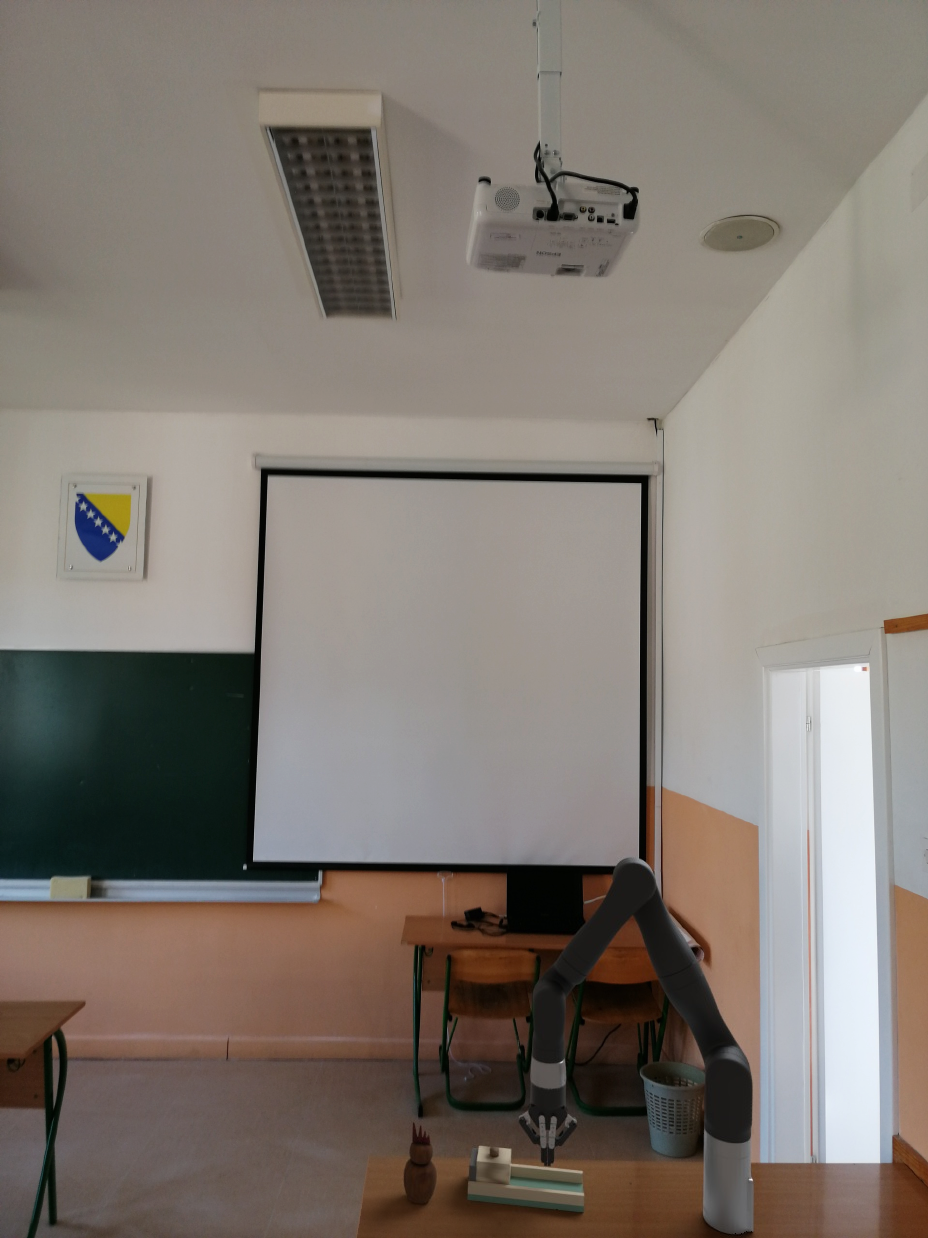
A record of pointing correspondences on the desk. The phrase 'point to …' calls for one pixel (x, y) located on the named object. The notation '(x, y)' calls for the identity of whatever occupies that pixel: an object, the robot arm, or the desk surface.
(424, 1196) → the wooden figurine
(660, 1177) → the desk surface
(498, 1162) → the cream knobbed cube
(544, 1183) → the rail
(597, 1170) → the desk surface
